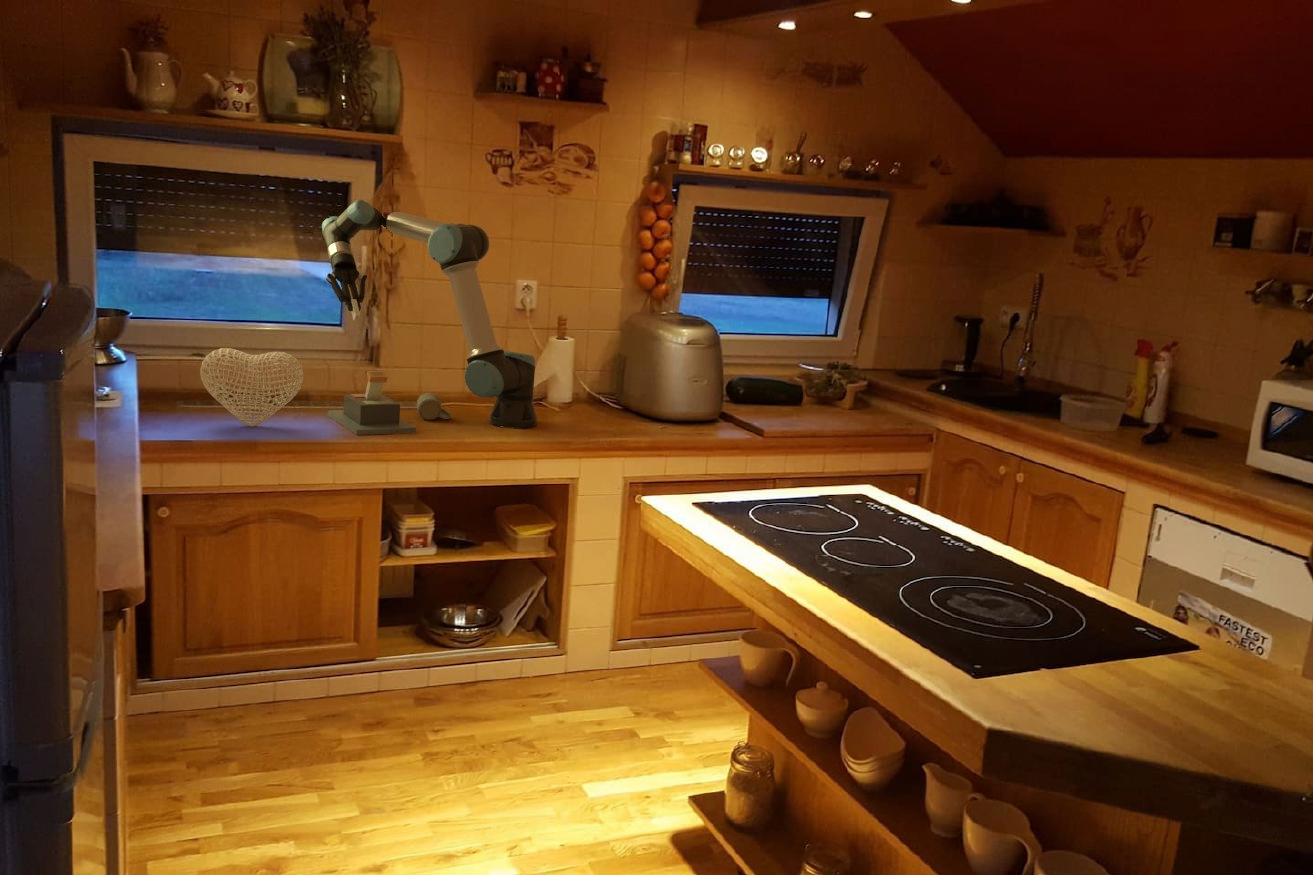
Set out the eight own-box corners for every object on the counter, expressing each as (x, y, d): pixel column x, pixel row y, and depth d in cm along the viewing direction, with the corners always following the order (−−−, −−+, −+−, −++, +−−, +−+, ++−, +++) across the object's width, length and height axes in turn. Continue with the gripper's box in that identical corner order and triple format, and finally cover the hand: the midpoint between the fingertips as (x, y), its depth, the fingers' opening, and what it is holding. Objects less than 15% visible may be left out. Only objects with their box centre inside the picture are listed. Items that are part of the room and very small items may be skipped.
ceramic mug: (417, 420, 342) (418, 396, 341) (415, 415, 350) (417, 391, 349) (451, 422, 345) (452, 398, 344) (449, 417, 353) (450, 393, 351)
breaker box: (327, 415, 339) (328, 390, 337) (384, 413, 349) (384, 389, 347) (356, 435, 316) (357, 408, 314) (415, 432, 326) (416, 406, 324)
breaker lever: (362, 394, 330) (367, 370, 325) (379, 394, 333) (384, 370, 328) (365, 400, 328) (370, 377, 323) (382, 400, 331) (387, 376, 326)
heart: (193, 429, 306) (193, 350, 301) (209, 418, 321) (209, 343, 316) (296, 435, 309) (297, 357, 305) (307, 424, 324) (308, 350, 320)
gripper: (359, 268, 355) (374, 326, 345) (319, 266, 348) (333, 325, 338) (365, 253, 350) (380, 311, 340) (324, 250, 343) (339, 310, 333)
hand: (357, 318), depth 339 cm, fingers closed
